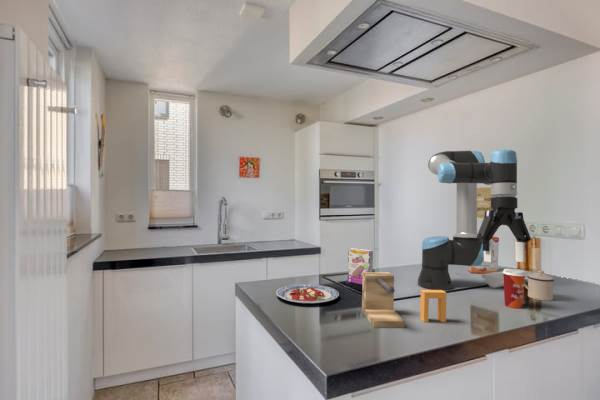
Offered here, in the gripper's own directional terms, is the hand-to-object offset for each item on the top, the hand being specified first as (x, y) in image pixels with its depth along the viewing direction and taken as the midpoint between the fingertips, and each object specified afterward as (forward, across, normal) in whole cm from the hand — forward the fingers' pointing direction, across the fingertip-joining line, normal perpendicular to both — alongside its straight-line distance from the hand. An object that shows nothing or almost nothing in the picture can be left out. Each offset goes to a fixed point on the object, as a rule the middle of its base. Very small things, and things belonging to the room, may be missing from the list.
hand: (504, 261), depth 107 cm
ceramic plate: (+20, -51, +48) cm, 73 cm away
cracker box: (+13, +60, +66) cm, 90 cm away
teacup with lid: (+18, +45, +24) cm, 54 cm away
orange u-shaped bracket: (+21, -18, +12) cm, 30 cm away
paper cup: (+19, +24, +17) cm, 35 cm away
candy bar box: (+18, -19, +62) cm, 67 cm away
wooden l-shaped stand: (+21, -34, +18) cm, 44 cm away
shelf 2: (+16, +54, +43) cm, 71 cm away
